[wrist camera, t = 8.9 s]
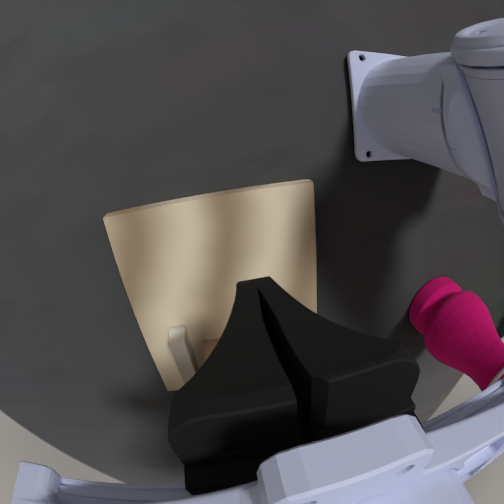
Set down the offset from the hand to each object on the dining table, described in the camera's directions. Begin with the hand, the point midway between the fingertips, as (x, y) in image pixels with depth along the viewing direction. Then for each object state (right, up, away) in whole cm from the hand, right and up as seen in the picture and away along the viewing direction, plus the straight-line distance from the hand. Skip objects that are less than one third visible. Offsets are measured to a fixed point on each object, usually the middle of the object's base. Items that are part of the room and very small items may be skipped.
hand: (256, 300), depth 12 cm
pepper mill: (+18, -3, +16) cm, 25 cm away
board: (-2, -2, +12) cm, 12 cm away
